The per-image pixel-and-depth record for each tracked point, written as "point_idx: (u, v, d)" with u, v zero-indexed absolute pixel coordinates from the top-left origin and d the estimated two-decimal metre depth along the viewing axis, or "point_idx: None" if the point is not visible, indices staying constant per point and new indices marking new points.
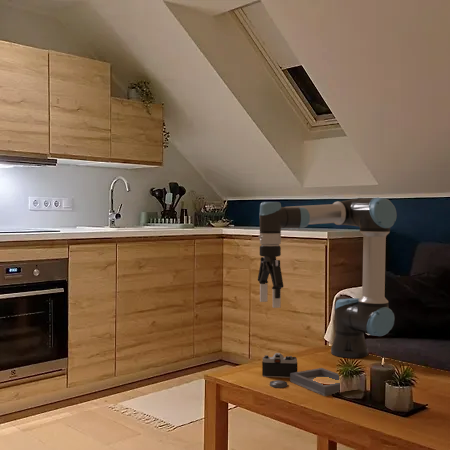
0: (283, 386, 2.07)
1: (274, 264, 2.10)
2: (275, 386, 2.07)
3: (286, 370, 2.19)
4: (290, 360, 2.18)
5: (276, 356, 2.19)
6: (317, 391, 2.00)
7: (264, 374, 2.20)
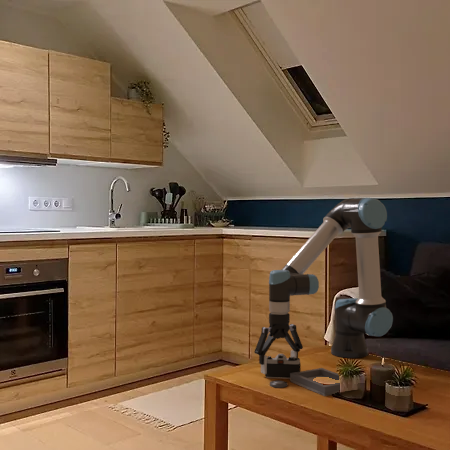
0: (283, 386, 2.07)
1: (262, 331, 2.20)
2: (275, 386, 2.07)
3: (289, 371, 2.17)
4: (293, 361, 2.17)
5: (279, 357, 2.18)
6: (317, 391, 2.00)
7: (267, 375, 2.19)
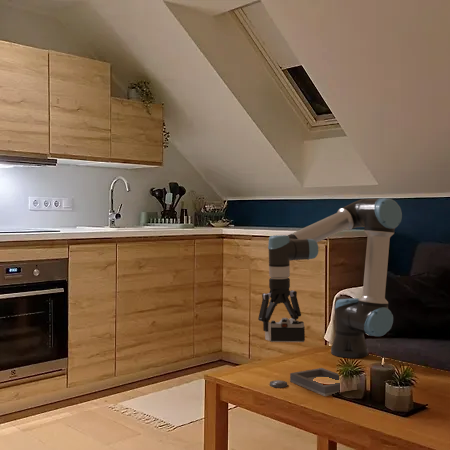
0: (283, 386, 2.07)
1: (263, 297, 2.19)
2: (275, 386, 2.07)
3: (294, 335, 2.18)
4: (297, 324, 2.17)
5: (283, 321, 2.18)
6: (317, 391, 2.00)
7: (271, 339, 2.19)
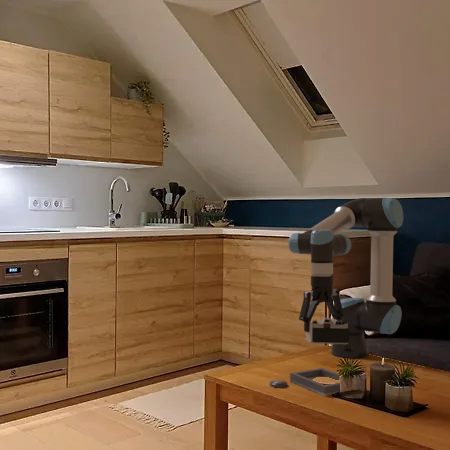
0: (283, 386, 2.07)
1: (304, 296, 2.06)
2: (275, 386, 2.07)
3: (337, 336, 2.04)
4: (341, 325, 2.03)
5: (325, 321, 2.04)
6: (317, 391, 2.00)
7: (312, 340, 2.05)
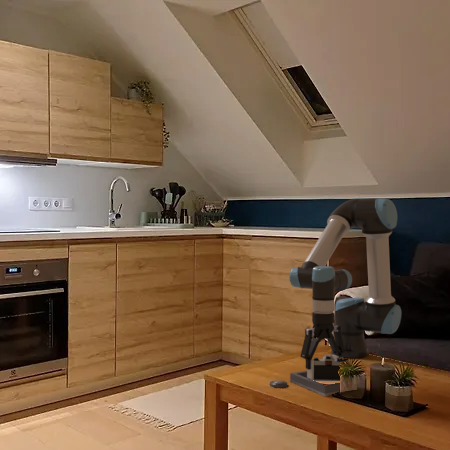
0: (283, 386, 2.07)
1: (305, 333, 2.06)
2: (275, 386, 2.07)
3: None
4: None
5: (327, 358, 2.04)
6: (317, 391, 2.00)
7: (314, 378, 2.05)
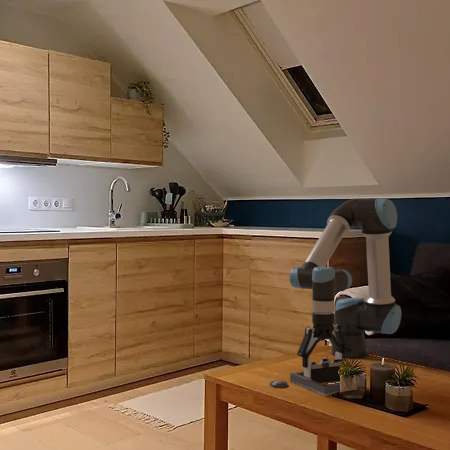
0: (283, 386, 2.07)
1: (305, 332, 2.06)
2: (275, 386, 2.07)
3: (337, 374, 2.04)
4: (339, 362, 2.04)
5: (323, 360, 2.06)
6: (317, 391, 2.00)
7: None
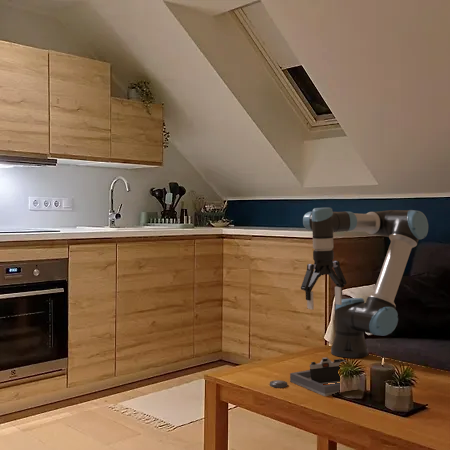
0: (283, 386, 2.07)
1: (307, 267, 2.22)
2: (275, 386, 2.07)
3: (337, 374, 2.04)
4: (339, 362, 2.04)
5: (323, 360, 2.06)
6: (317, 391, 2.00)
7: None
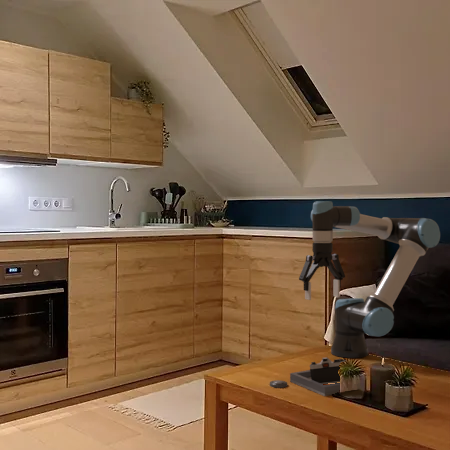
0: (283, 386, 2.07)
1: (306, 259, 2.27)
2: (275, 386, 2.07)
3: (337, 374, 2.04)
4: (339, 362, 2.04)
5: (323, 360, 2.06)
6: (317, 391, 2.00)
7: None
